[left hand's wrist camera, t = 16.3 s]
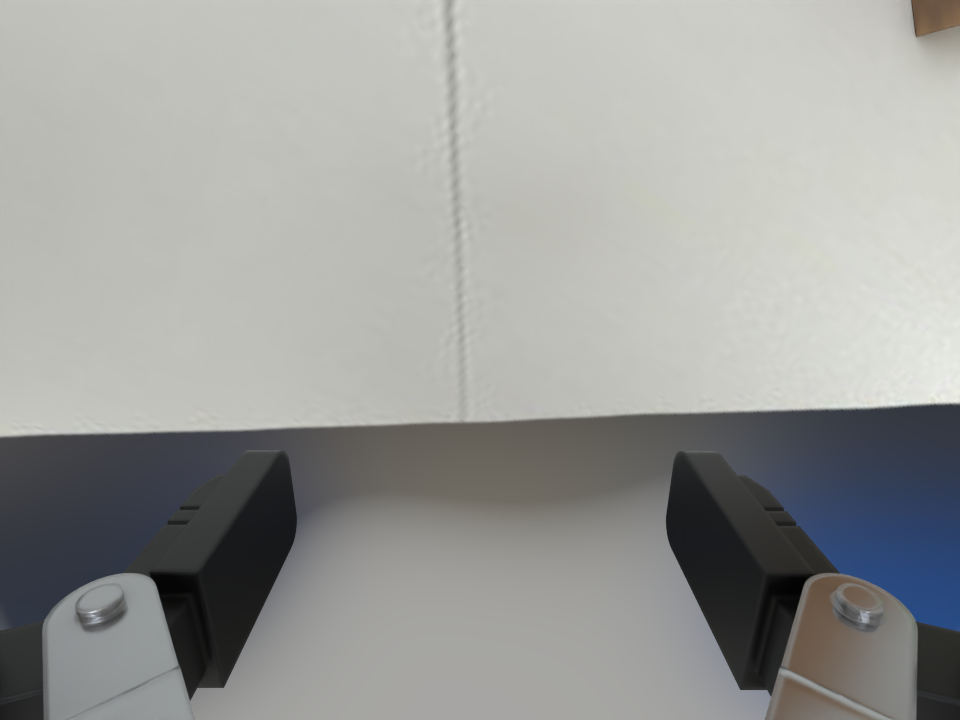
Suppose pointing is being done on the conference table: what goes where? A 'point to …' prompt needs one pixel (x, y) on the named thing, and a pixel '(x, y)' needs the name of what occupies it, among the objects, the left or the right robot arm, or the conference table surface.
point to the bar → (935, 15)
